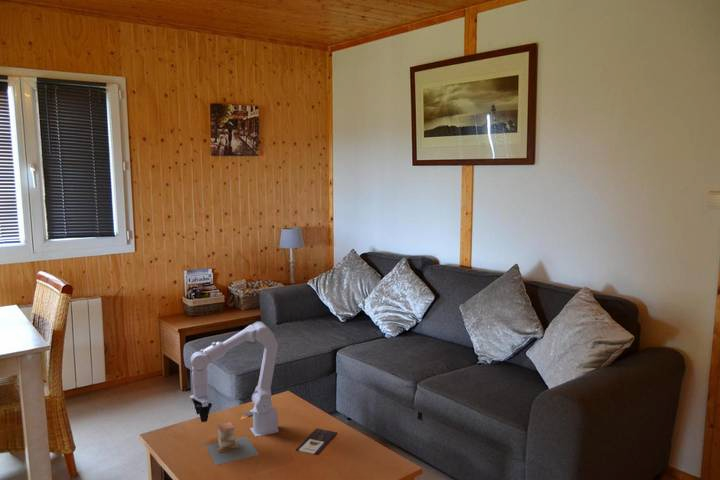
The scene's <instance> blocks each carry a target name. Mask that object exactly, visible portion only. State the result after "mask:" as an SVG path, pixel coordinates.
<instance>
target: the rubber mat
mask: <svg viewBox="0 0 720 480" xmlns="http://www.w3.org/2000/svg"><path fill="white" fill-rule="evenodd" d="M236 444H239V445H240V448H238V449H234V450H229V451H225V452H221V453H218V449H219V448H220V447H219V445H218V442H216V443H211V444H207V445H205V447H206V449H207V452H208V453H209V455H210V457H211V460H212V461H213V464H214V466H219V465H223V464H228V463H233V462H235V461H239V460H243V459H248V458H253V457H256V456H259V455H260V454H259V452H258V451H257V449H256V448H255V446H254V444H253V443H252V442H251V440H250V439H249V437H248V436H243V437H238V438H235V445H236Z"/></svg>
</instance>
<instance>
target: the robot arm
mask: <svg viewBox="0 0 720 480" xmlns="http://www.w3.org/2000/svg"><path fill="white" fill-rule="evenodd" d="M255 340H256V342H258V343H259V344H261V345H262V346H263V347H264V349H263V354H262V355H263V356H262V360H261V366H260V371H259V377H258V382H257V385H256V387H255V389H254V392H253V393H252V395H251V402H252V404H253V405H254V406H253V408H252V409H253V416H252V427H250V428H249V430H250V431H251V433H252V434H253V435H254V437H256V438H258V437H262V436H267V435H270V434H275V433H279V431H280V430H279V422H278V421H279V417H278V412H277V409H276V407H273V403H272V390H271V387H272V381H273V377H274V371H275V366H276V359H277V353H278V348H279V344H278V341H277V339H276V337H275V335H274V332H273V331H272V330H271V329H270V327H268V325H266V324H265V323H264V322H263V321H255V322H254V323H252V324H249V325H248V326H246V327H245V328H244V329H242V330H241V331H239V332H237V333H236V334H234V335H232V336H230V338H228V339H226V340H224V341H217V342H216V341H213V342H211V345H209V346H207V347H205V348H204V349H203V348H202V349H200V350H199V351H195V352H194V353H192V355H191V356H190V359H189V361H190V363H191V365H192V366H191V371H192V372H191V379H192V380H191V382H192V384H191V385H192V395H189V399H190V400H191V401H192V402H193V405H194V409H195V413H196V415H199V418H200V421H201V423H206V422H208V419H209V414H210V410H211V408H212V406H213V404H212V403H211V402H209V399H210V398H209V397H210V392H209V378H208V377H209V376H208V366H209V364H211V363H213V362H214V361H217V360H218V359H220V358H222V357H223V356H225V355H226V353H227V351H228V350H230V349H232V348H234V347H236V346H238V345H240V344H242V343H245V342H253V343H255Z"/></svg>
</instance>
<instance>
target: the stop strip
mask: <svg viewBox="0 0 720 480" xmlns="http://www.w3.org/2000/svg"><path fill="white" fill-rule="evenodd" d="M238 448H240V445H239V444H236V445H232V446H228V447H223V448H219V449H218V453H221V452H225V451H229V450H234V449H238Z"/></svg>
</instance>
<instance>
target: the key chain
mask: <svg viewBox="0 0 720 480" xmlns="http://www.w3.org/2000/svg"><path fill="white" fill-rule="evenodd" d="M249 417H250V418H251V417H253V408H252V409H250V410H249V411H248V412H246V413H245V414H244V415H242V416H241V417H240V418H239V420H243V419H246V418H249Z"/></svg>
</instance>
